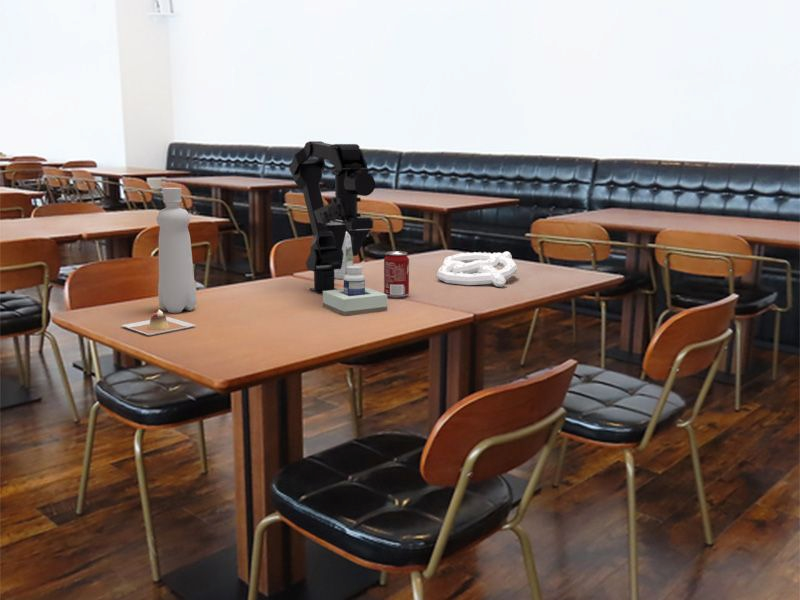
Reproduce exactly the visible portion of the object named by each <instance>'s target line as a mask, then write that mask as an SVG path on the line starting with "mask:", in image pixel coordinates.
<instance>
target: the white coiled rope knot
mask: <svg viewBox="0 0 800 600" xmlns="http://www.w3.org/2000/svg"><path fill="white" fill-rule="evenodd" d="M497 267H503V268H502V269H498V268H497ZM517 272H518V266H517V264H516V263H515V261H514V260H513V257H512V254H511V252H510V251H504V252H499V251H498V252H493V253H491V252H486V251H483V252H481V251H478V252H476V251H474V252H469V251H467V252H465V253H464V252H460V253H455V254H453V255H449V256H446V257H445V258H444V260H443V262H442V265H441V266H440V267H439V269H438V270H437V272H436V273H437V274H436V277H437V279H438V280H440V281H442V282H444V283H446V284H450V285H451V284H452V285H461V286H477V285H478V286H479V285H480V286H481V285H482V286H483V285H491V284H493V285H494V286H495V287H498V288H503V287H504V286H505V285H506V282H507V280H509V279H510V278H511V277H513V276H514V275H515V274H516V273H517Z"/></svg>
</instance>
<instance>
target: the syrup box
mask: <svg viewBox="0 0 800 600" xmlns="http://www.w3.org/2000/svg"><path fill="white" fill-rule="evenodd" d="M342 250H343V254H344V255H343V261H342V266H341V269H334V280H335V279H336V280H344V276H345V275H346V274H347V272H346V267H347V266H350V265H354V256H353V253H352V245H351V236H350V235H349V234H348V232H347V231H346V234H345V238H344V242H343V246H342Z"/></svg>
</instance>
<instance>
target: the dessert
mask: <svg viewBox="0 0 800 600" xmlns="http://www.w3.org/2000/svg"><path fill="white" fill-rule="evenodd" d="M168 322H170V323H173V324H177V325H180V326H183V327H178V328H172V329H169V328H170V325H169V323H168ZM144 325H148V330H151V331H157V332H153V333H151V332H150V333H146V331H145V332H144V331H141V330H138V329H136V328H134V327H139V326H140V327H141V326H144ZM120 326H122V327H123V328H125V329H128V330H131V331H134V332H137V333H140V334H143V335H145V336H149V337H151V336H155V335H156V336H157V335H160V334H162V335H163V334H166V333H171V332H177V331H181V330H187V329H191V328H194V327H196V326H197V325H196V324H194V323H190V322H186V321H184V320H180V319H176V318H174V317H170V316H166V315H165V314H164V312H163V310H162V309H161V310H160V309H158V310H157V312H156V309H155V310H154V312H153V313H152V315H151V317H150V319H148V320H147V319H146V320H144V321H143V320H142V321H137V322H132V323H126V324H121V325H120ZM161 330H163V331H161Z"/></svg>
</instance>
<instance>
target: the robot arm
mask: <svg viewBox="0 0 800 600" xmlns="http://www.w3.org/2000/svg"><path fill="white" fill-rule="evenodd" d="M314 157H315V158H314ZM325 160H329V164H330V165H332V166H333V167H334V168H335V169H334V170H333V171H332V175H333V176H335V177H334V179H335V180H334V181H335V182H334V185H335V187H334V188H335V189H334V190H335V193H334V195H335V196H332V197H331V201H330V202H331V203H330V204H326V205H325V203H324V200H323V197H322V192H321V188H320V183H321V181H322V177H323V171H324V169H325V166H326V162H325ZM289 168H290V169H289V170H290V174H291V175H292V178H293V181H294V183H295V185H297V187H299V188H300V189H301V190H302V193H303V194H302V195H303V198H304V202H305V206H306V210H307V214H308V215H307V216H308V219H309V223H310V227H311V232H312V238H313V239H312V241H311V244H310V253H309V255H308V256H307V259H306V261H305V264H306V270H308V271H312V272H313V287H309V291H311V292H314V293H316V294H323V291H329V290H338V288H336V287H335V278H334V269H341V266H342V261H343V255H344V254H343V250H342V246H343V242H344V238H345V234H346V231H347V232H348V234H349V235H350V236H351V245H352V253H353V257H356V256H357V257H358V255H359V253H360V251H361V249H362V246H363V244H364V243H365V240H366V238H367V236H369V235H368V234H369V233H371V231H372V230H371V229H374V219H372V218H371V217H370V216H369V217H368V216H363V215H361V213H359V211H358V207H359V206H358V205H359V204H358V203H359V202H361V199H362V198H361V197H362V196H363V197H366V196H367V197H368V196H369V195H372V193H373V192H374V190H375V188H376V181H375V177H374V176H373V175H372V174H370V173H369V168H368V162H367V160H366V158H365V156H364V153H363V151H362V148H360V145H359V144H357V143H334V144H330V143H328V142H327V143H326V142H324V141H321V140H319V141H315V140H314V141H312V140H311V141H308V142H306V143H305V144H304V146H303V148H301V149H300V150H299V151H298V152H296V153H295V154H294V156H293V159H292V161H291V162H290V166H289ZM358 196H361V197H358Z"/></svg>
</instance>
